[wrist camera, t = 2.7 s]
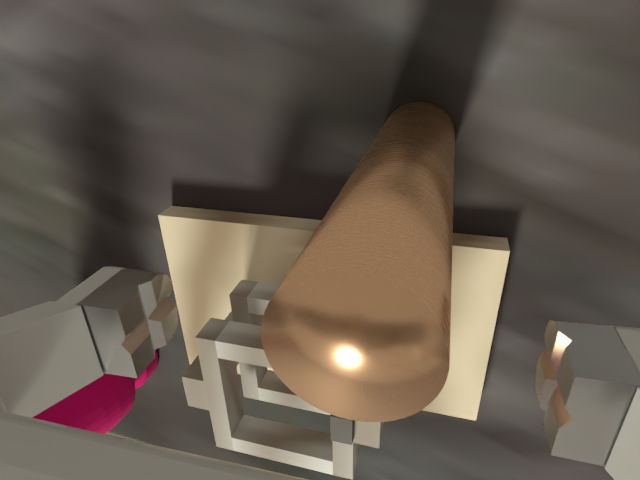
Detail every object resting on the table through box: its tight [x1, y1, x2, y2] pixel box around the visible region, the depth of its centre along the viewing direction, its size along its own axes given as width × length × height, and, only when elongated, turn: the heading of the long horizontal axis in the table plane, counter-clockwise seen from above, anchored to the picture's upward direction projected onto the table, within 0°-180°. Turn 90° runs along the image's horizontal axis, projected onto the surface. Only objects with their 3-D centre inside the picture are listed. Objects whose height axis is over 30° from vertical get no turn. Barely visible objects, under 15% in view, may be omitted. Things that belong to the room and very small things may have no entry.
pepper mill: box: [32, 350, 158, 434], centre depth 27 cm, size 7×7×20 cm
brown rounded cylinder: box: [261, 101, 455, 422], centre depth 15 cm, size 4×4×16 cm
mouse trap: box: [158, 206, 510, 480], centre depth 24 cm, size 20×12×9 cm, turn 93°
